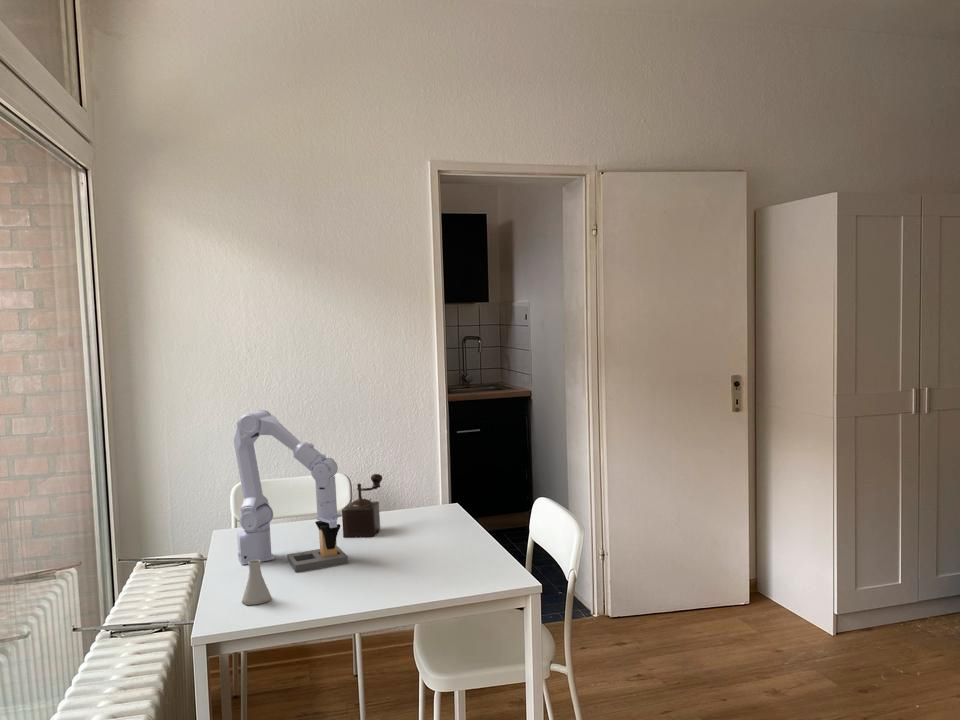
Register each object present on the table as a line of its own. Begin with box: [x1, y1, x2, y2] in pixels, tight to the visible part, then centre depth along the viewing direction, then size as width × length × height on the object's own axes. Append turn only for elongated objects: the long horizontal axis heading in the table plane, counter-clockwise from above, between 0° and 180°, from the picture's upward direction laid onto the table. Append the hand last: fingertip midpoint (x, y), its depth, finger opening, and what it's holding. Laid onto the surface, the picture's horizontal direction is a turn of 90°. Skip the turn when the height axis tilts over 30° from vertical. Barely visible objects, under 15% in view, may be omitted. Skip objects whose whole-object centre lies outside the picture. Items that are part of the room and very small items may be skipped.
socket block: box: [286, 545, 349, 573], centre depth 219 cm, size 15×12×2 cm
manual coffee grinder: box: [341, 473, 383, 539], centre depth 250 cm, size 16×11×18 cm
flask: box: [241, 560, 272, 606], centre depth 189 cm, size 7×7×10 cm
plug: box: [318, 529, 338, 557], centre depth 220 cm, size 4×4×9 cm
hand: (328, 546), depth 220 cm, fingers closed on plug, 4 cm apart
